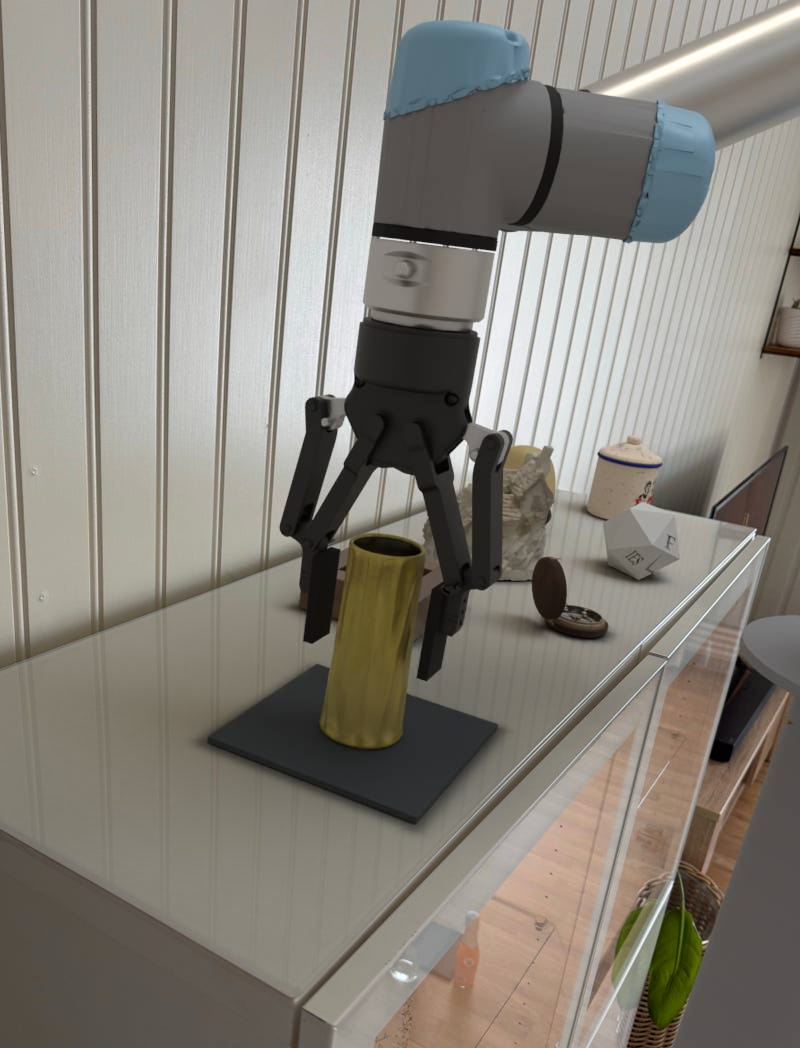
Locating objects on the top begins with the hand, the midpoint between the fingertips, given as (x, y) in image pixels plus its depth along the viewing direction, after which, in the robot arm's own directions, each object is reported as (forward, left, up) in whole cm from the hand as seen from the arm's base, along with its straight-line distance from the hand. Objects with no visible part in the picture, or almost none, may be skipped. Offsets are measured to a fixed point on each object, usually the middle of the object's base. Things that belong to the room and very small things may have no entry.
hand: (371, 654), depth 68 cm
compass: (-6, -35, -7) cm, 36 cm away
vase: (0, 0, -6) cm, 6 cm away
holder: (+10, -25, -7) cm, 28 cm away
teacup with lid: (0, -87, -7) cm, 87 cm away
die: (-8, -59, -7) cm, 60 cm away
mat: (0, 0, -7) cm, 7 cm away
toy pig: (+10, -68, -7) cm, 69 cm away
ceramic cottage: (+8, -49, -7) cm, 50 cm away
